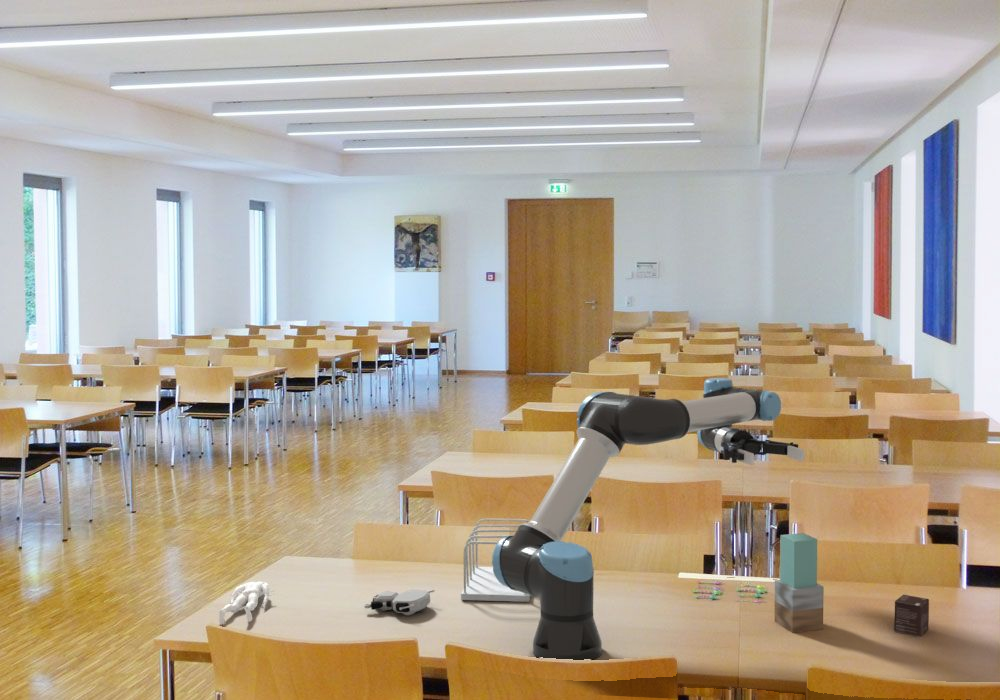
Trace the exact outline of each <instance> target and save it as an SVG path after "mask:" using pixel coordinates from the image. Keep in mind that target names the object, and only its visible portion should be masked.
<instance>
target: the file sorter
mask: <svg viewBox="0 0 1000 700" xmlns="http://www.w3.org/2000/svg"><path fill="white" fill-rule="evenodd" d="M482 522H523V523H527V522H530V520H528V519H524V518H482V519H479V520H478V521H477V523H476V525H475V527H474V528H473V529H472V531H471V533H470V534H469V536H468V539H467V540H466V542H465V545H464V548H463V589H462V590H461V593H460V600H461V601H483V602H484V601H488V602H489V601H491V602H516V603H518V602H519V603H529V602H530V599H531V595H529V594H526V593H523V592H520V591H515V590H512V589H510V588H509V587H507V586H505V585H503V584H501V583H500V582H499V581H498V580H497V578H496V577H495V575H494V572H493V566H479V561H478V560H479V558H478V557H479V554H478V549H479V548H478V545H497V543H498V542H499V541H487V540H486V541H481V540H480V541H479V540H478V539H499V538H500V539H502V538H504V537H507V536H509V535H510V534H506V535H505V534H504V535H503V534H499V535H497V534H495V535H494V534H493V535H492V534H491V535H478V533H516V531H517V529H479V528H519V526H520V525H521V524H480V523H482Z"/></svg>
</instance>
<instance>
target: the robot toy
mask: <svg viewBox="0 0 1000 700" xmlns="http://www.w3.org/2000/svg"><path fill="white" fill-rule="evenodd" d="M434 592H436V590H435V589H432V590H429V591H428V590H426V589H410V590H406V591H404V592H401V593H398V592H397V591H390V590H388V591H382V592H380V593H379V594H376V595H374V596H373V598H372V601H370V603H366V604H364V608H365V609H370V608H371V610H373V611H374V610H380V611H382V612H385V611H387V610H388V611H390V610H392V611H394V612H395V613H397V614H398V613H399V614H403V615H404V616H406V617H408V616H412V615H414V614H416V612H417V613H418V612H419V611H422V610H423V609H425V608H427V607H428V605H429V604H430V603H431V593H434Z"/></svg>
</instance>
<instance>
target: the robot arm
mask: <svg viewBox="0 0 1000 700" xmlns="http://www.w3.org/2000/svg"><path fill="white" fill-rule="evenodd" d="M703 385H704V386H703V394H702V396H703V397H702V398H697V399H695V398H694V399H690V400H684V401H682V400H680V399H678V398H670V399H669V398H668V399H662V398H654V397H647V396H644V395H643V396H642V395H632V394H623V393H617V392H614V391H598V392H594V393H591V394H589V395H588V396H586V397H585V398H584V400H583V401H582V402H581V404H580V405H579V407H578V410H577V415H576V416H577V419H576V423H577V424H576V425H577V429H576V435H577V439H578V440H577V441H576V443H575V444H574V446H573V448H572V450H571V451H570V453H569V455H568V457H567V458H566V460H565V462H564V463H563V465H562V467H561V469H559V472H558V473H557V475H556V477H555V479H554V480H553V482H552V484H551V485H550V487H549V488H548V490H547V492H546V493H545V496H544V497H543V499H542V500H541V502H540V504H539V506H538V507H537V509H536V511H535V512H534V514H533V516H532V517H531V519H530V520H529V521H530V522H523V523H520V524H519V525H520V526H519V527H517V528H516V530H517V531H516V532H514V534H508V535H509V536H507V537H504V538H500V539H499V541H497V542H498V543H497V544H495V547H494V549H493V552H492V555H491V556H492V557H491V565H492V567H493V572H494V575H495V577H496V578H497V580H498V581H499V582H500V583H501V584H503V585H505V586H507V587H509V588H510V589H512V590H515V591H520V592H523V593H526V594H529V595H530V597H531V596H533V597H535V598H537V599H540V601H539V603H540V607H539V608H540V616H539V617H540V618H539V622H538V625H537V628H536V631H535V634H534V637H533V641H532V651H533V652H532V653H533V655H534V656H535V657H537V658H538V657H543V658H556V659H573V660H584V659H594V660H595V659H597V658H599V657H600V656H601V655H602V650H603V649H602V648H603V647H602V640H601V636H600V634H599V630H598V627H597V624H596V620H595V618H594V576H595V575H594V573H595V569H594V566H593V565H594V564H593V563H594V562H593V556H592V554H591V552H590V551H589V550H588V549H587V548H586V547H584V546H583V545H580V544H578V543H575V542H565V541H563V539H564V537H565V535H566V534H567V532H568V531H569V529H570V527H571V525H572V524H573V522H574V520H575V519H576V517H577V515H578V513H579V511H580V509H581V508H582V506H583V504H584V503H585V501H586V499H587V498H588V495H589V494H590V492H591V490H592V489H593V487H594V485H595V484H596V482H597V480H598V478H599V476H600V475H601V473H602V471H603V470H604V468H605V466H606V465H607V463H608V461H609V459H610V458H615V457H618V456H619V455H620V453H621V452H622V449H623V448H624V446H625V444H628V445H635V446H645V445H646V446H647V445H654V444H659V443H664V442H669V441H673V440H674V441H675V440H679V439H683V438H684V437H685V436H686V435H687V434H688V433H692V432H696V436H697V440H698V442H699V443H700V444H701V445H702V446H703V447H705V448H706V449H708V450H709V451H713V452H717V453H720V454H723V460H725V461H728V460H730V459H731V463H732V464H733V463H734V464H736V463H738V462H741V463H744V464H746V465H749V466H754V465H755V463H754V462H755V458H754V457H755V456H756V455H758V456H765V455H767V454H769V455H782V456H786V457H788V458H791V459H794V460H797V461H800V462H805V449H802V448H799V444H797V443H794V442H793V441H792V442H790V443H789V442H781V441H775V440H770V439H765V440H760V439H759V440H758V439H756V438H754V436H753V435H752V433H750V432H749V431H746V430H744V429H741V428H738V427H734V426H733V425H735V424H739V423H744V422H745V423H746V422H750V421H755V420H756V421H759V420H760V421H763V422H766V421H768V422H769V421H770V422H772V421H774V420H776V419H778V417H779V416H780V414H781V411H782V400H781V397H780V396H779V394H778V393H776V392H775V391H774V392H773V391H769V390H766V389H764V390H761V389H750V388H749V389H748V388H742V387H735V386H734V384H733V380H732V379H730V378H727V377H710V378H706V379H705V381H704V382H703Z"/></svg>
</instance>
